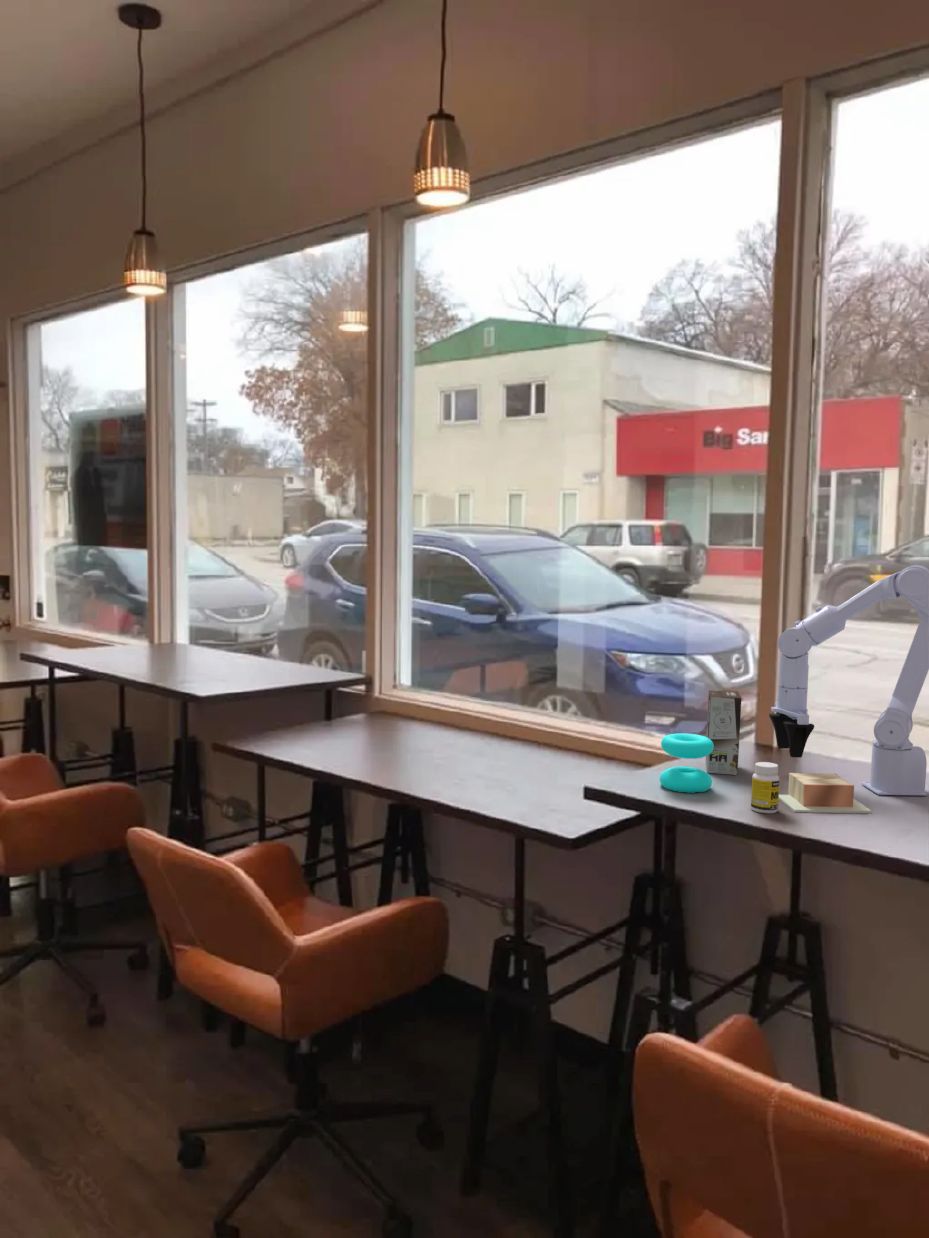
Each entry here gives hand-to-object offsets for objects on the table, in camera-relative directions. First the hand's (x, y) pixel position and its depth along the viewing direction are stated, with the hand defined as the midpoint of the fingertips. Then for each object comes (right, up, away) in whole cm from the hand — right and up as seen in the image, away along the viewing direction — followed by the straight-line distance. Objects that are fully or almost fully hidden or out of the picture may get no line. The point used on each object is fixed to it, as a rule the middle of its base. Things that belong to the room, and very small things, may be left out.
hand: (789, 752), depth 202 cm
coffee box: (-12, -5, +6) cm, 15 cm away
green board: (0, -7, -19) cm, 20 cm away
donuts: (-23, -6, -9) cm, 25 cm away
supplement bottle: (-12, -8, -23) cm, 27 cm away
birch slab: (0, -4, -13) cm, 14 cm away
